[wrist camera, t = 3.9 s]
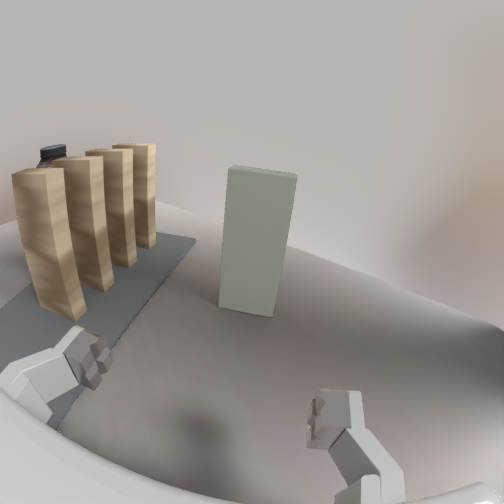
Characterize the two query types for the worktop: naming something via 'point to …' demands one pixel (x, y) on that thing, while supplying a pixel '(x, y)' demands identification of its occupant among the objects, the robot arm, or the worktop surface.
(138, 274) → the slate mat
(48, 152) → the supplement bottle
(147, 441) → the worktop surface
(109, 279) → the domino
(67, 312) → the domino
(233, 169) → the sage domino
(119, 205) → the domino
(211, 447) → the worktop surface
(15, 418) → the robot arm
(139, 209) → the domino
